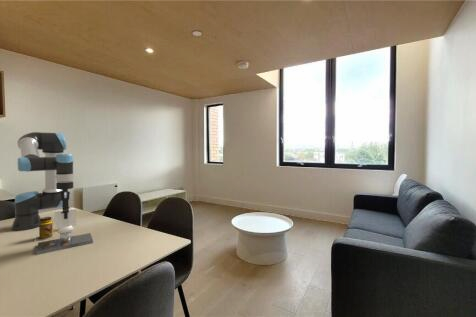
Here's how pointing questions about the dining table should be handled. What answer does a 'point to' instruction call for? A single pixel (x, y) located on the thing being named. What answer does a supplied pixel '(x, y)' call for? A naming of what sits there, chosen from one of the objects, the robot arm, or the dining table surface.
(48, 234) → the condiment
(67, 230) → the lever handle
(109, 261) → the dining table surface
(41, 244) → the base plate
